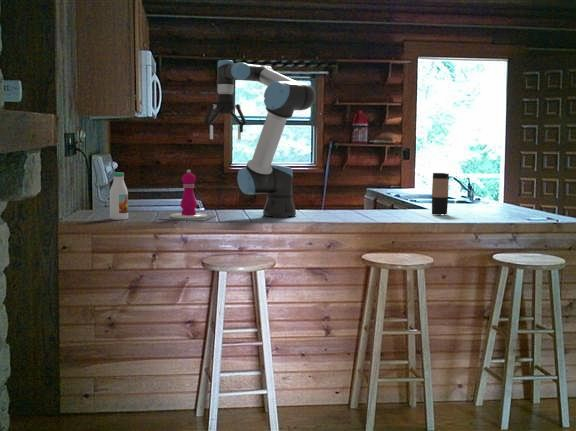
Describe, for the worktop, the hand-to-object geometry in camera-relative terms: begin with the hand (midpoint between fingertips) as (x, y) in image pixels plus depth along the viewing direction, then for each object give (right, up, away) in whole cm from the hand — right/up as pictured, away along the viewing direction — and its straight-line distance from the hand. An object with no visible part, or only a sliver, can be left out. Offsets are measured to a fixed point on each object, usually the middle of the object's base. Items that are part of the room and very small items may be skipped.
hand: (225, 139), depth 339 cm
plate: (-14, -37, -22) cm, 45 cm away
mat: (-14, -37, -22) cm, 45 cm away
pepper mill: (-14, -36, -22) cm, 45 cm away
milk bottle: (-43, -38, -30) cm, 65 cm away
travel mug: (+103, -36, +8) cm, 109 cm away
